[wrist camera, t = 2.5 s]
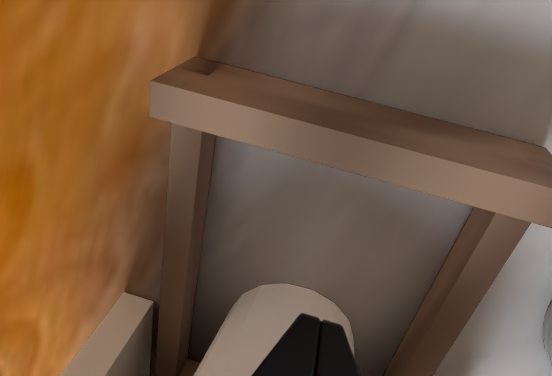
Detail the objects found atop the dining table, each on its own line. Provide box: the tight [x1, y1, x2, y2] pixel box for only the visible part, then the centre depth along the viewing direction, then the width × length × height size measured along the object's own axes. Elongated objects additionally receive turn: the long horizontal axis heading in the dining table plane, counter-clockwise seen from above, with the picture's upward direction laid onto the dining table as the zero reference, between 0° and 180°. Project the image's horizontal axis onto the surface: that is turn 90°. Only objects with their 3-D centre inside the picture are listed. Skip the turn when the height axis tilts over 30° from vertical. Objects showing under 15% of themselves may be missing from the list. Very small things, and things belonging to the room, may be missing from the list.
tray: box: [149, 57, 552, 376], centre depth 15 cm, size 11×16×3 cm
